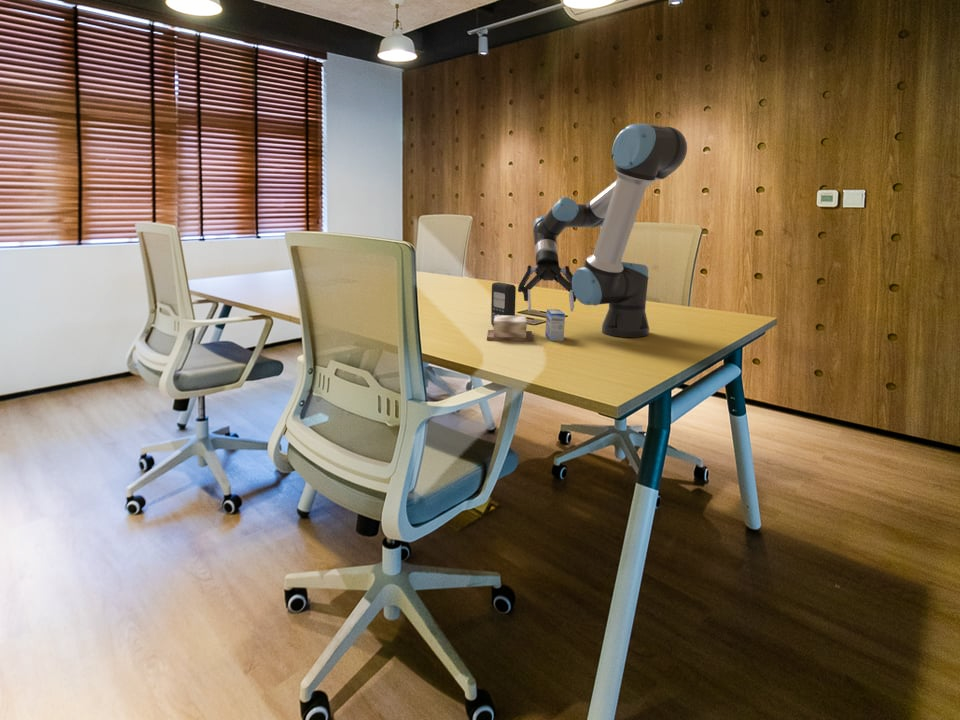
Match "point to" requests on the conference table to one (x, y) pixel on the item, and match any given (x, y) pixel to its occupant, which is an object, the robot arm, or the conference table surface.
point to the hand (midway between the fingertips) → (551, 308)
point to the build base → (510, 329)
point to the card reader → (502, 300)
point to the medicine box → (555, 325)
